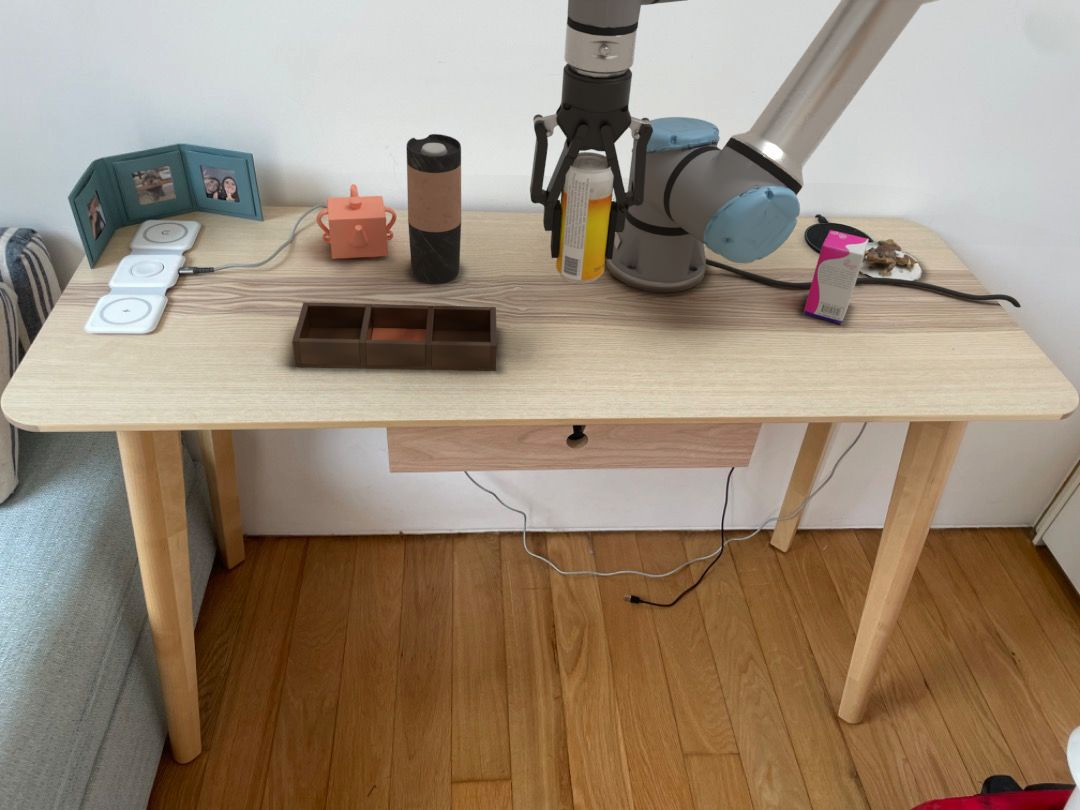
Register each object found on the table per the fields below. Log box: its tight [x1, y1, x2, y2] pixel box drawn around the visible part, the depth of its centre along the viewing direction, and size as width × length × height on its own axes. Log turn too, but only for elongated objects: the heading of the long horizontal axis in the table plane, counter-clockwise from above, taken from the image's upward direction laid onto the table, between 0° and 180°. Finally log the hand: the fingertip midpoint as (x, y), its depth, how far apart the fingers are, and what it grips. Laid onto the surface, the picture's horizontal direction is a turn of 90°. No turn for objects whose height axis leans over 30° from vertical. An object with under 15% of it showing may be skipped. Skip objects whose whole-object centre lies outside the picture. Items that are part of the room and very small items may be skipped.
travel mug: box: [406, 133, 462, 285], centre depth 130 cm, size 8×8×20 cm
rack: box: [291, 301, 498, 372], centre depth 119 cm, size 26×9×4 cm, turn 93°
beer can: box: [555, 151, 614, 284], centre depth 110 cm, size 6×6×15 cm
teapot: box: [316, 183, 397, 260], centre depth 137 cm, size 12×15×8 cm
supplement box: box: [803, 229, 870, 325], centre depth 131 cm, size 6×6×12 cm
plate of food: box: [859, 238, 923, 281], centre depth 145 cm, size 12×12×4 cm
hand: (581, 252), depth 113 cm, fingers closed on beer can, 6 cm apart
